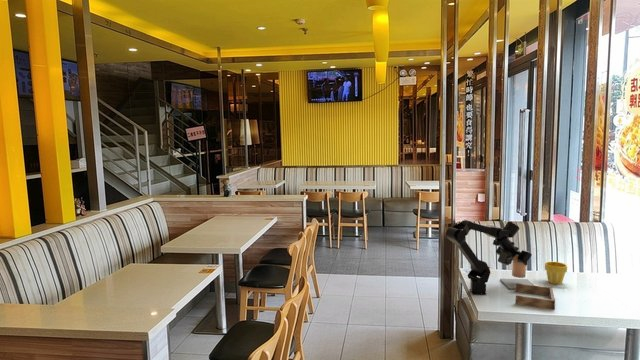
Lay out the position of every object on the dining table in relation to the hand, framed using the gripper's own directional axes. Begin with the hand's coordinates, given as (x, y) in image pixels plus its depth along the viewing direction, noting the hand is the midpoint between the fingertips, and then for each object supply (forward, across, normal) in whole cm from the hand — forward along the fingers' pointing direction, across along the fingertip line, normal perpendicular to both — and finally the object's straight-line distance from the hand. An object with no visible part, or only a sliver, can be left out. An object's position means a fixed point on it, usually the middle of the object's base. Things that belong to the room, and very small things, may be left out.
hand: (521, 263), depth 223 cm
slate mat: (+7, 0, -9) cm, 12 cm away
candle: (+4, 0, -6) cm, 7 cm away
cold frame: (+1, +18, -16) cm, 24 cm away
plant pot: (+22, +4, +6) cm, 24 cm away
